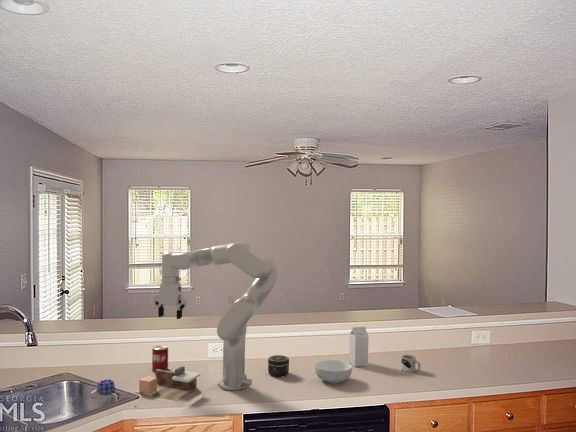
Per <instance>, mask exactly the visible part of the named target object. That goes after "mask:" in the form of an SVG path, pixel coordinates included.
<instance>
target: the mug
mask: <svg viewBox="0 0 576 432" xmlns="http://www.w3.org/2000/svg"><path fill="white" fill-rule="evenodd" d="M416 364H417V367H418V368H416ZM400 366H401V368H400V369H401V371H402V370H403V371H405V372H404V373H407V372H413V373H415V372H417V373H418V372H420V371H421V362H420V361H419V360H417V359H416V356H414V355H410V354H403V355H401V363H400ZM403 371H402V372H403ZM414 371H415V372H414Z"/></svg>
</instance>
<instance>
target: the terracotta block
mask: <svg viewBox="0 0 576 432" xmlns="http://www.w3.org/2000/svg"><path fill="white" fill-rule="evenodd" d="M138 384H139V385H138V390H139V392H142V393H147V394H150V393H152V392H153V391H155V390H157V378H156V376H150V375H147V376H145V377H143V378H140V379H139V381H138Z"/></svg>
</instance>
